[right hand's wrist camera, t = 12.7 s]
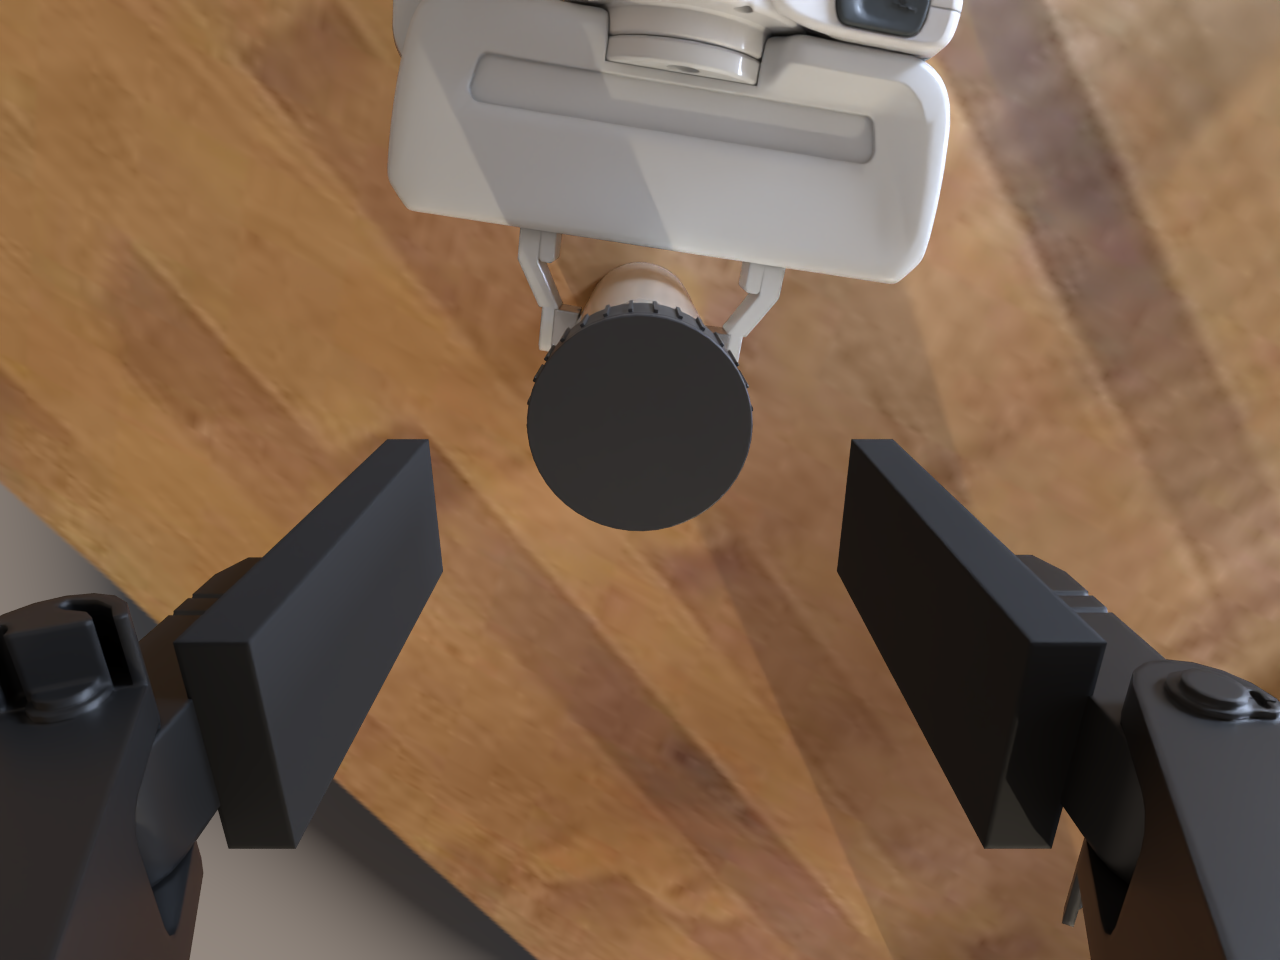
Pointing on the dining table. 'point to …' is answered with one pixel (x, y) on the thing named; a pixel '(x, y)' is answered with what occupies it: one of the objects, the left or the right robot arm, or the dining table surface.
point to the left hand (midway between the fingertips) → (637, 362)
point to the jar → (639, 289)
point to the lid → (639, 417)
